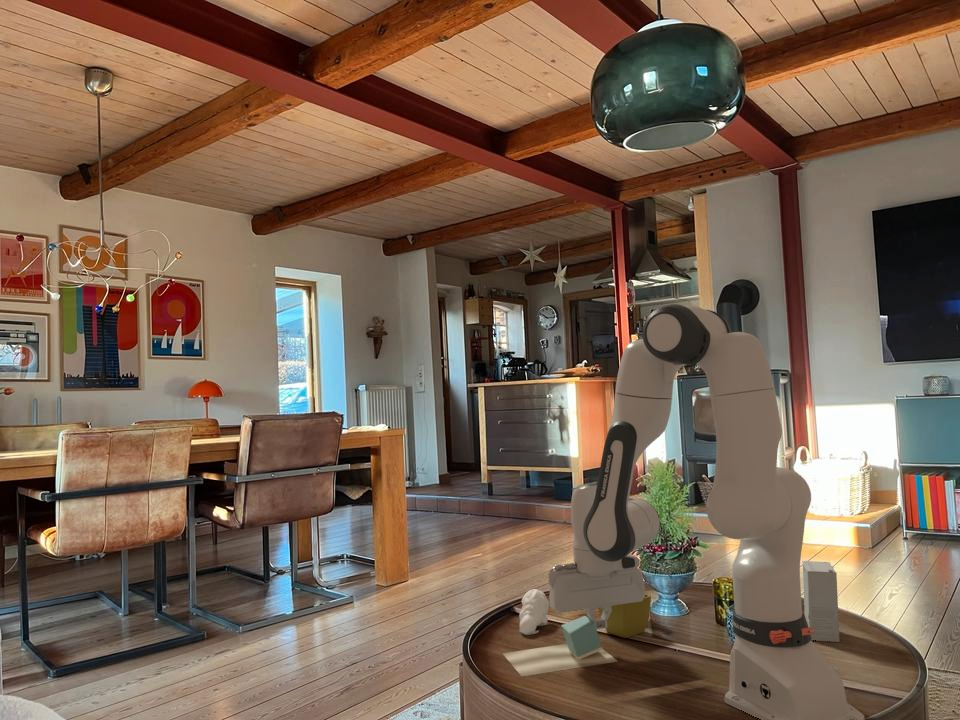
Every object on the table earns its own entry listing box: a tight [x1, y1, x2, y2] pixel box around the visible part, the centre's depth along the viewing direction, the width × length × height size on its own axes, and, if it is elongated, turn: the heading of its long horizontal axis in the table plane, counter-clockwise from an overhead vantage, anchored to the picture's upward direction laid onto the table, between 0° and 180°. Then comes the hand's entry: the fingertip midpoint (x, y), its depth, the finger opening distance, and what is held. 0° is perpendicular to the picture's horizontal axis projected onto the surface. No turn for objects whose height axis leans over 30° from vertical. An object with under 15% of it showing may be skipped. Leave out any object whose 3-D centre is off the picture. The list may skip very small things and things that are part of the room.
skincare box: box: [801, 560, 840, 643], centre depth 153 cm, size 8×6×15 cm
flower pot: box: [598, 593, 652, 639], centre depth 158 cm, size 9×9×9 cm
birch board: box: [502, 643, 619, 678], centre depth 145 cm, size 13×20×1 cm, turn 105°
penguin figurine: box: [518, 588, 550, 636], centre depth 164 cm, size 6×8×12 cm
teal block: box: [561, 615, 604, 660], centre depth 146 cm, size 6×6×6 cm
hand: (599, 628), depth 147 cm, fingers closed
